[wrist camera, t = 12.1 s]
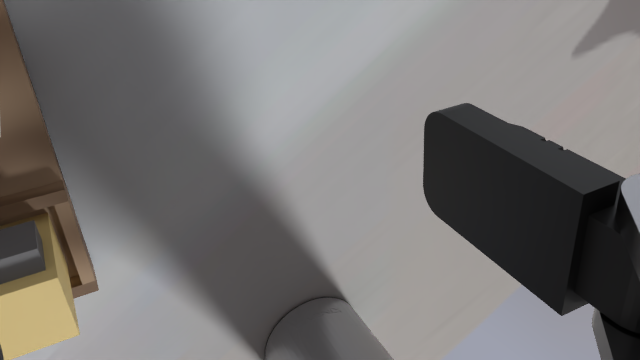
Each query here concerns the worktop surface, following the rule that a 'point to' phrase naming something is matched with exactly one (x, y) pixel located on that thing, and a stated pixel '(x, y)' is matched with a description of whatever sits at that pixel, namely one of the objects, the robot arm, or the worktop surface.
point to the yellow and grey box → (33, 288)
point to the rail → (34, 163)
